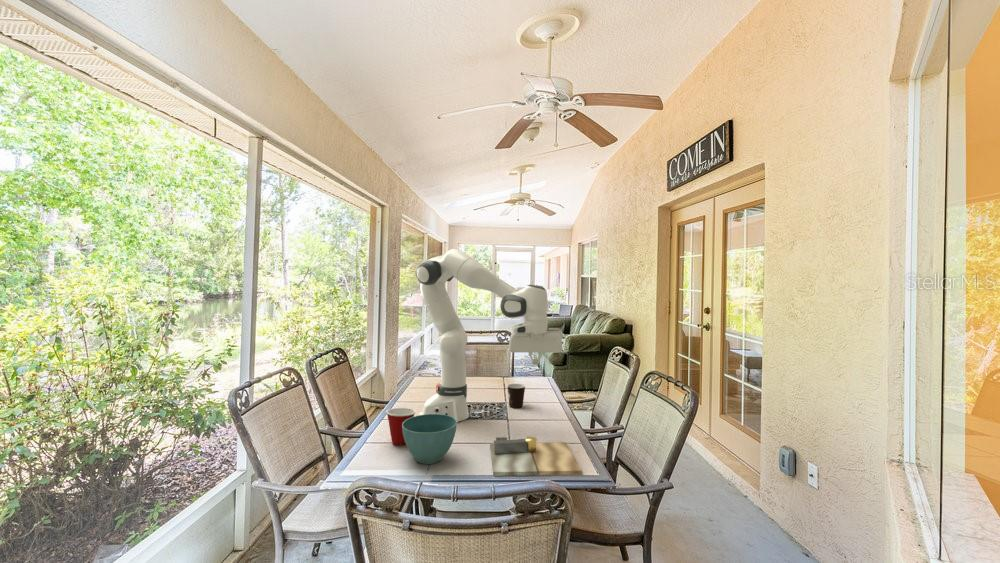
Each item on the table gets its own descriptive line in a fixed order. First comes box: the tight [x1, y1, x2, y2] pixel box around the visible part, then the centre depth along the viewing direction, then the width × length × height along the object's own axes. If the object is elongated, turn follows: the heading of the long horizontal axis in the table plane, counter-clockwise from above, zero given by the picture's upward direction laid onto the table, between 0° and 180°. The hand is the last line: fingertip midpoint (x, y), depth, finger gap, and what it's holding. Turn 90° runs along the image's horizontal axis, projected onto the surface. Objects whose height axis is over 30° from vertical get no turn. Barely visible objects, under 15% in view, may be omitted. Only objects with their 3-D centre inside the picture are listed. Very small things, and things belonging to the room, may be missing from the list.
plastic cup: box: [385, 407, 417, 447], centre depth 149 cm, size 11×11×12 cm
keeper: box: [495, 436, 509, 440], centre depth 143 cm, size 4×3×3 cm
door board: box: [489, 441, 583, 477], centre depth 136 cm, size 28×22×1 cm
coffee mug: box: [507, 383, 526, 410], centre depth 195 cm, size 12×9×10 cm
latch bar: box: [493, 436, 537, 454], centre depth 139 cm, size 15×4×4 cm, turn 100°
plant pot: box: [402, 414, 458, 465], centre depth 136 cm, size 18×18×12 cm
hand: (535, 364), depth 152 cm, fingers closed
